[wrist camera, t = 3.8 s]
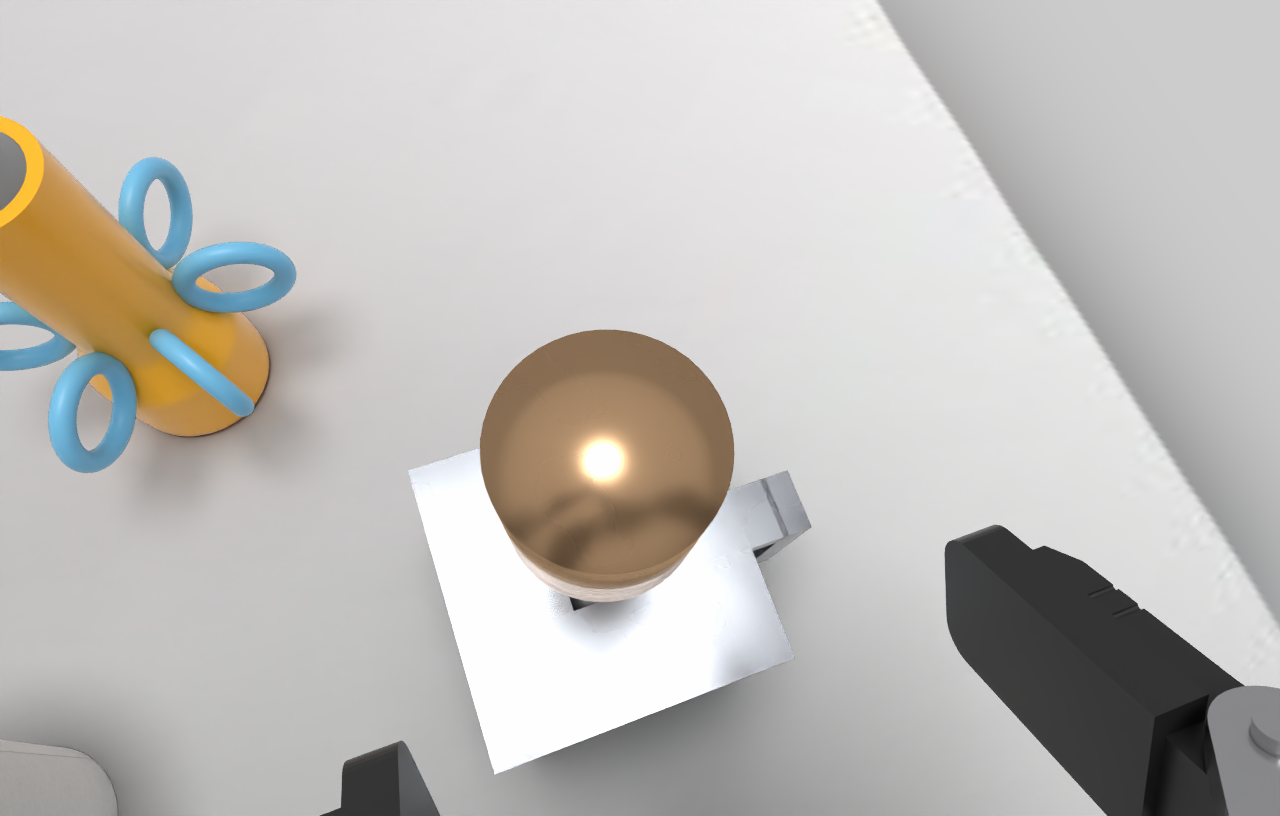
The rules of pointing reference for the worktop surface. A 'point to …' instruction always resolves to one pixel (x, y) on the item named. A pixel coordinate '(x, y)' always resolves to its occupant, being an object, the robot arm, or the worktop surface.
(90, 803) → the dixie cup
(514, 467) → the plunger
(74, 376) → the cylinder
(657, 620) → the frame
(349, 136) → the worktop surface
